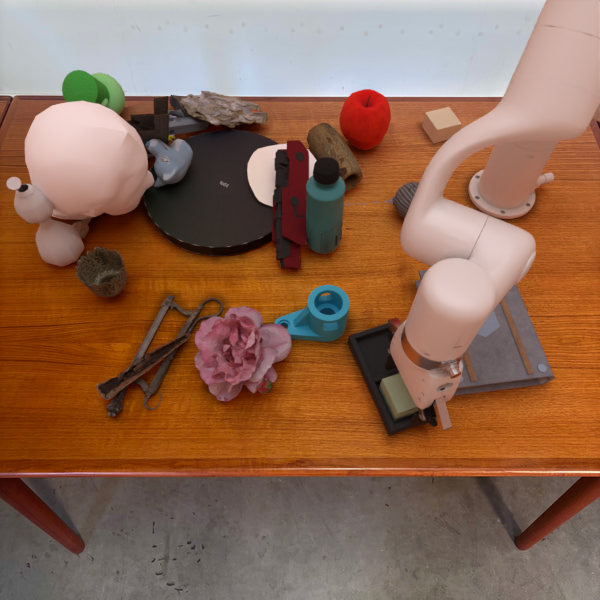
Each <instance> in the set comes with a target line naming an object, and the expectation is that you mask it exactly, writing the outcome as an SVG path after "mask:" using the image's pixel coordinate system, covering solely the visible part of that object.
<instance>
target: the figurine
mask: <svg viewBox="0 0 600 600" xmlns="http://www.w3.org/2000/svg"><path fill="white" fill-rule="evenodd" d="M6 187H7V188H8V189H9V190H12V191H15V193H14V199H13V206H14V209H15V212H16V214H17V215H18V216H20V218H22V219H23V220H24V221H25V222H27V223H28V224H39V226H38V228H37V231H36V234H35V245H36V247H37V250H38V254H39V255H40V257H41V260H43V262H45V263H47V264H50V265H54V266H57V267H65V266H68V265H70V264H73V263H75V262H77V261H78V260H79V258H80V257H81V256H82V255H81V254H82V253H83V252H84V250H85V244H84V242H83V238H81V237H80V234H79V232H78V230H77V229H76V228H75V227H73V226H72V225H71V224H69V223H66V222H63V221H59V220H55V219H52V218H51V217H53V216H52V214H53V209H54V206H53V204H52V203H51V201H50V200H49V199H48V198H47V197H46V196H45V195H44V194H43V193H42V192H41V190H39V189H38V188H37V187H36V186H34V185H32V184H31V183H22V181H21V179H20V178H19V177H17V176H11V177H9V178H8V179H7V180H6Z"/></svg>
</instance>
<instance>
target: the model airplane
mask: <svg viewBox="0 0 600 600" xmlns="http://www.w3.org/2000/svg"><path fill="white" fill-rule="evenodd" d="M152 101H153V102H152V103H153V113H141V114H130V120H125V121H126V122H127V123H128V124H130V125H131V126H132V127H133V128H135V130H136V131H137V133H138V134H139V136H140V137H141V140H142V142H143V144H144V147H145V150H146V152H147V154H151V153H150V152H149V150H148V149H147V148H146V146H145V145H146V143H147V142H148V141H150V140H151V139H159V140H161V141H162V142H164V143H165V144H166V145H168V146H169V145H170V144H169V141H170V140H169V114H168V110H169V95H166V96H165V95H164V96H159V97H154V98H153V100H152ZM169 147H170V146H169Z"/></svg>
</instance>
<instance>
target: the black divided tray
mask: <svg viewBox="0 0 600 600" xmlns="http://www.w3.org/2000/svg"><path fill="white" fill-rule="evenodd" d="M388 333H390V331H389V326H388V322H387V323H384V324H380V325H377V326H374V327H371V328H368V329H364V330H361V331H359V332H355V333H352V334H349V335H348V337H347V345H348V347H349V349H350V352H351V354H352V356H353V358H354V360H355V362H356V365H357V367H358V370H359V372H360V374H361V376H362V378H363V381H364V383H365V385H366V388H367V391H368V392H369V395H370V396H371V399H372V401H373V403H374V406H375V408H376V410H377V413H378V415H379V417H380V419H381V422H382V424H383V427H384V428H385V430H386V433H387V435H388V437H391V436H394V435H396V434H399V433H402V432H405V431H407V430H411V429H414V428H416V427H418V426H421V425H420V423H416V424H414V425H412V423H411V418H412V417H413V415H414V414H413V415H411V416H408V417H405V418H402V419H399V420H396V421H394V420H393V418H392V416H391V413H390V411H389V409H388V407H387V405H386V402H385V400H384V398H383V396H382V394H381V391H380V389H379V386H380V384H381V381H382V379H384V378H387V377H390V376H393V375H396V374H398V373H399V371H398V368H397V367H396V368H393V369H391V370H386V368H385V364H386V361H387V358H388V356H389V353H388V350H387V348H388V347H390V341H389V339H388ZM430 406H433V404H432V405H430Z"/></svg>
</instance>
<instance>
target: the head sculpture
mask: <svg viewBox="0 0 600 600" xmlns="http://www.w3.org/2000/svg"><path fill="white" fill-rule="evenodd" d="M126 121H127V120H125V119H124V118H123V117H121V116H120V115H118V114H117V113H116V112H114V111H113V110H111V109H109V108H107V107H105V106H102V105H100V104H97V103H91V102H86V101H75V102H66V101H65V102H61V103H57V104H53V105H50V106H49V107H47V108H46V109H44V110H43V111H41V112H39V113H38V114H36V115H35V117H34V119H33V121H32V123H31V125H30V127H29V128H28V131H27V133H26V136H25V139H24V161H25V166H26V167H27V170H28V176H29V179H30V184H31V185H34V186H36V187H37V188H38V189H39V190H41V192H42V193H43V194H44V195H45V196H46V197H47V198H48V199H49V200H50V201H51V203H52V204H53V206H54V209H53V214H52V216H51V217H54V218H57V219H60V220H77V221H82V220H83V219H87V218H91V217H92V218H96V217H98V216H99V217H100V216H101V215H103V214H108V215H111V216H120V215H124V214H127V213H130V212H132V211H134V210H136V208H137V207H138V206H139V204H140V202H141V199H142V197H143V196H144V192H145V191H146V189H148V188H149V187H151V186H152V185H153V184H154V178H153V175H152V173H151V172H150V170H149V161H148V159H149V158H147V152H146V150H145V147H144V144H143V142H142V140H141V137H140V136H139V134H138V133H137V131H136V130H135V128H133V127H132V126H131V125H130V124H128V123H127V122H126Z"/></svg>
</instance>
